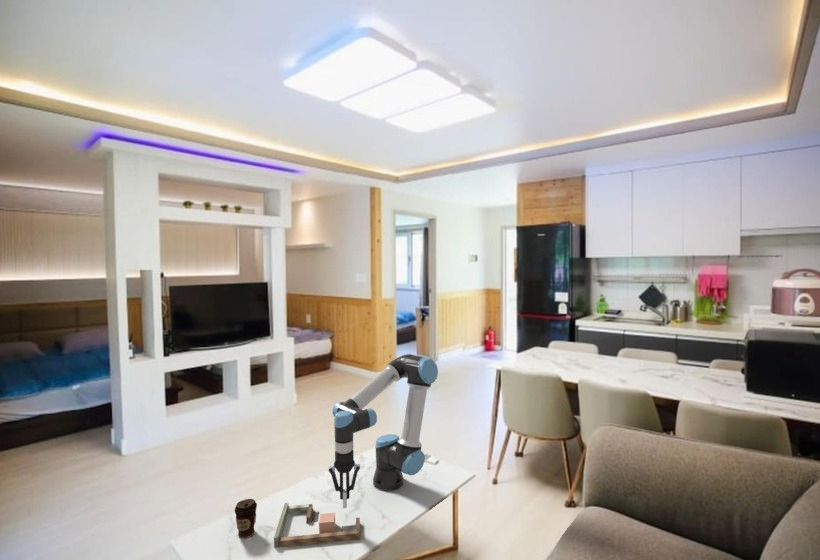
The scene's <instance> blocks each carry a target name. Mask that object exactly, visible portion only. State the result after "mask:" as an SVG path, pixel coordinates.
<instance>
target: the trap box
mask: <svg viewBox="0 0 820 560" xmlns="http://www.w3.org/2000/svg"><path fill="white" fill-rule="evenodd" d="M313 504H314V503H309V504H298V505H297V504H296V505H289V502H284V505H283V507H282V508H283V509H282V511H281V513H280V516H279V517H280V518H279V520H278V524H277V526H276V530H275V534H274V536H273V548H284V547H285V548H286V547H294V546H295V547H296V546H307V545H316V544H323V543H324V544H326V543H334V542H335V543H336V542H346V541H355V540H361V537H360V536H361V519H360V517H356V518H355V524H353V525H352V524H349V525H342V526H341V531H335V532H333V533H322V534H319V533H314V534H304V535H303V534H302V535H292V536H284V537H282V535H283V532H284V529H285V526H286V522H287V518H288V515H294V514H295V515H296V514H305V513H306V516H305V517H306V518H305V520H306V521H305V522H306V524H311V523H316V522H318V519H319V514H320V511H316V512H315V511H314V512H313V507H314V505H313Z"/></svg>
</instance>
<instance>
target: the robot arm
mask: <svg viewBox="0 0 820 560" xmlns="http://www.w3.org/2000/svg"><path fill="white" fill-rule="evenodd" d="M438 375H439V370H438V365H437V364H436V361H435V360H433V359H432V358H429V357H426V356H421V355H416V354H415V355H414V354H411V353H408V354H402V355H401V356H399V357H396V358H394V359H393V360H391V361H390V362H389V363H388V364H386V365H385V367H384V369H383V370H382V371H381V372H380V373H378V374H377V375H376V376H375V377H374V378H373V379H371V380H370V381H369V382H367V383H366V384H365V385H364V386H363V387H362V388H360V389H359V390H358V391H357V392H355V393H354V394H353V395H352V396H350V398H348V399H346V401H337V402H336V403H335V404H334V405H333V407H332V416H333V417H334V423H333V425H334V427H333V428H334V463H333V465H329V466H328V472H329V474H330V475H331V479H332V483H333V485H334V489H335V490H334V491H335V492H339V499H340V500H342V509H346V508H348V500H349V499H350V491H354V489H355V484H356V480H357V476H358V473H359V471H360V469H361V465H360V464H359V463H356V462H355V460H354V459H355V458H354V434H355V433H358V432H360V431H364V430H367V429H370V428H371V427H373V426H375V425H376V424H377V421H378V416H377V412H376V411H375V410H374V409H373V408H365V407H367V406H368V405H369V404H370V403H371V402H372V401H373V400H375V399H376V398H377V397H378V396H380V395H381V394H382V392H384V391H385V390H386V389H387V388H389V386H391V385H392V384H393V383H394V382H398V381H400V380H401V379H404V378H407V380H406V381H407V382H406V383H407V385H408V387H409V388H408V395H407V401H406V406H405V413H404V420H403V426H402V433H401V437H400V436H399V435H397V434H395V433H394V434H391V433H390V434H384V435H381V436H379V437H378V438H376V440H375V446H374V447H375V467H376V468H375V471H374V474H373V477H372V485H373V486H374V488H376V489H377V490H380V491H385V492H387V491H388V492H389V491H394V490H397V489H399V488H401V487H402V486H403V485H404V475H403V474H406V475H408V476H414V475H416V474H418V473H419V472H420V471H421V469H422V468H423V466H424V465H425V460H426V456H425V454H424V452H423V451H422V446H423V445H422V443H421V441H420V438H421V437H420V436H421V431H422V423H423V419H424V418H423V417H424V413H425V404H426V400H427V399H426V398H427V391H428V390H429V389H430V388H431V386H432V385H433V383H435V382H436V380H437V378H438ZM364 408H365V409H364ZM352 469H353V475H352V479H351V483H350V472H351V470H352ZM335 470H336V471H337V472H338V473H339V483H338V479H337V475H336V471H335ZM344 474H345V482H346V483H345V488H344Z"/></svg>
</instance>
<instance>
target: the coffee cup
mask: <svg viewBox="0 0 820 560" xmlns="http://www.w3.org/2000/svg"><path fill="white" fill-rule="evenodd" d="M257 506H258V503H257V502H256V500H255V499H253V498H245V499H243V500H240V501H238V502H237V504H236V505H235V508H234V513H235V521H236V523H235V524H236V528H237V531H238V533H237V536H238V538H240V539H247V538H250V537H253V536H254V535H255V533H256V530H255V524H256V522H257V520H256V519H257Z"/></svg>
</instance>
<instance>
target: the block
mask: <svg viewBox="0 0 820 560" xmlns="http://www.w3.org/2000/svg"><path fill="white" fill-rule="evenodd" d="M319 514H320V516H319V522H318V534H322V533H333V532H336V512H328V513H327V512H326V513H319Z"/></svg>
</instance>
